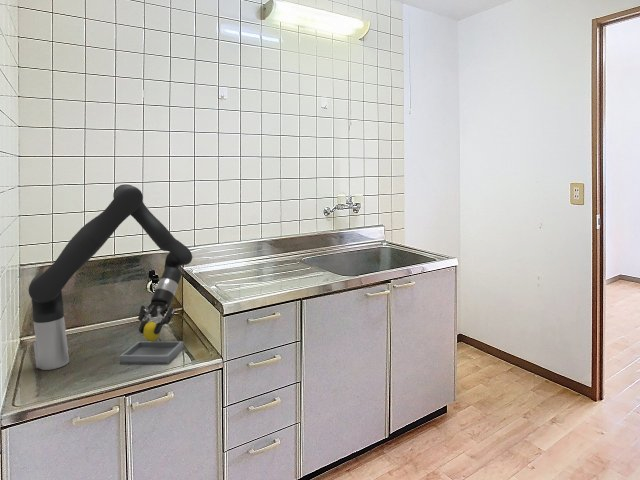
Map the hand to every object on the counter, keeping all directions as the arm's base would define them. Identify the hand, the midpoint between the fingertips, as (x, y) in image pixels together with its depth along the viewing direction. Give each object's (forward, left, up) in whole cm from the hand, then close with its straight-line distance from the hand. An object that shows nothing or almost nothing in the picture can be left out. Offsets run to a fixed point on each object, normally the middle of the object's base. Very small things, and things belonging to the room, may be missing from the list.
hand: (148, 332), depth 155 cm
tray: (0, +2, -10) cm, 10 cm away
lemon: (0, +2, -4) cm, 5 cm away
